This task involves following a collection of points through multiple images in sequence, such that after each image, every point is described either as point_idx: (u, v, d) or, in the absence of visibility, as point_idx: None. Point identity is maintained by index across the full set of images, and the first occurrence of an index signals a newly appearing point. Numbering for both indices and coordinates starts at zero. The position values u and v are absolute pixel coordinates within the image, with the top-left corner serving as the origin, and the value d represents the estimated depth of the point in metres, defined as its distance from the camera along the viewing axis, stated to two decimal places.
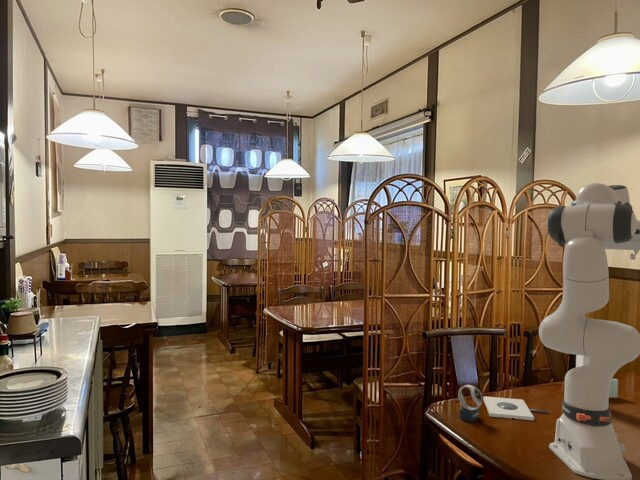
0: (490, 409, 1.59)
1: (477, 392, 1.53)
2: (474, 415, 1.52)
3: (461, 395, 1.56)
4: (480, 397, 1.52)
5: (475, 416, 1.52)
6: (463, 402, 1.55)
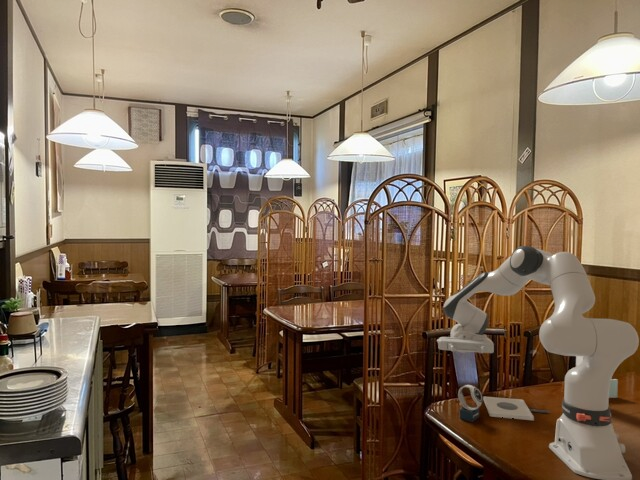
0: (490, 409, 1.59)
1: (477, 392, 1.53)
2: (474, 415, 1.52)
3: (461, 395, 1.56)
4: (480, 397, 1.52)
5: (475, 416, 1.52)
6: (463, 402, 1.55)
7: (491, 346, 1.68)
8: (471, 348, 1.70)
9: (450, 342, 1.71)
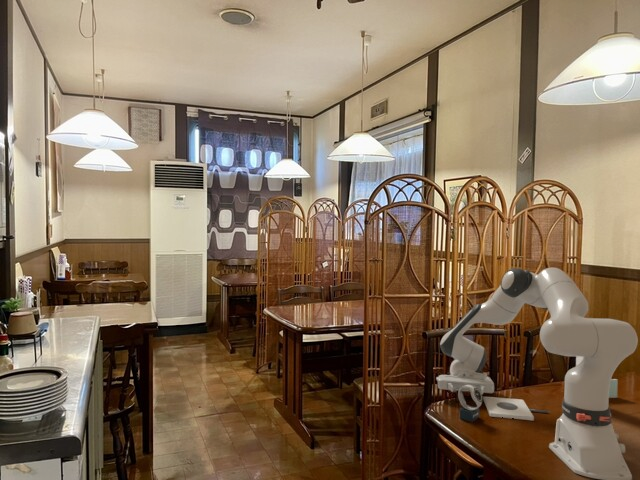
0: (490, 409, 1.59)
1: (477, 392, 1.53)
2: (474, 415, 1.52)
3: (461, 395, 1.56)
4: (480, 397, 1.52)
5: (475, 416, 1.52)
6: (463, 402, 1.55)
7: (491, 386, 1.66)
8: None
9: (450, 381, 1.69)
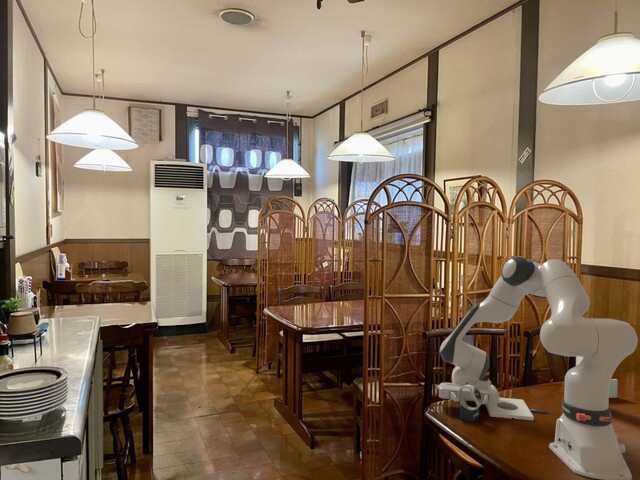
0: (490, 409, 1.59)
1: (477, 392, 1.53)
2: (474, 415, 1.52)
3: (461, 395, 1.56)
4: (480, 397, 1.52)
5: (475, 416, 1.52)
6: (463, 402, 1.55)
7: (496, 395, 1.56)
8: None
9: (452, 390, 1.59)
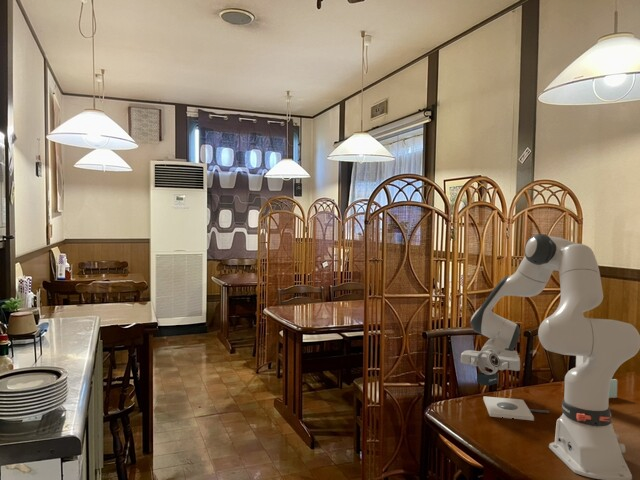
0: (490, 409, 1.59)
1: (494, 358, 1.56)
2: (490, 379, 1.56)
3: (480, 360, 1.61)
4: (497, 363, 1.56)
5: (492, 381, 1.57)
6: (481, 367, 1.60)
7: (516, 363, 1.58)
8: None
9: (472, 356, 1.65)
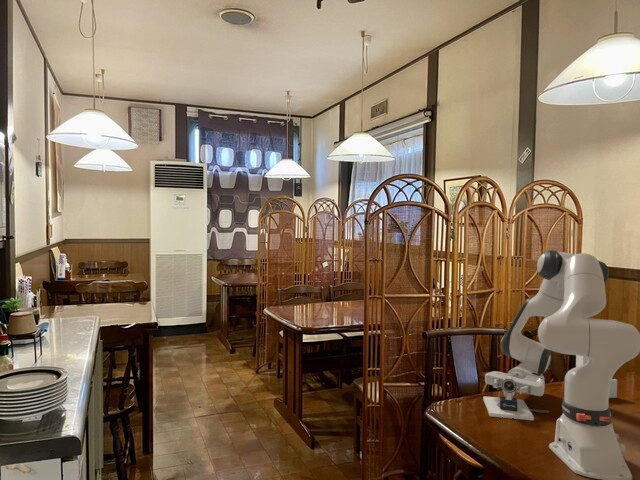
0: (490, 409, 1.59)
1: (510, 384, 1.57)
2: (505, 404, 1.58)
3: None
4: (511, 389, 1.56)
5: (508, 407, 1.58)
6: None
7: (538, 389, 1.58)
8: (518, 387, 1.64)
9: (495, 378, 1.68)
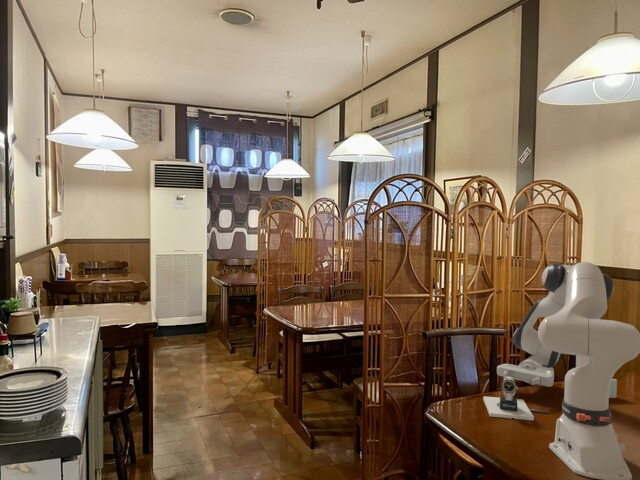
0: (490, 409, 1.59)
1: (510, 384, 1.57)
2: (505, 404, 1.58)
3: None
4: (511, 389, 1.56)
5: (508, 407, 1.58)
6: None
7: (548, 379, 1.67)
8: (528, 378, 1.72)
9: (507, 369, 1.77)
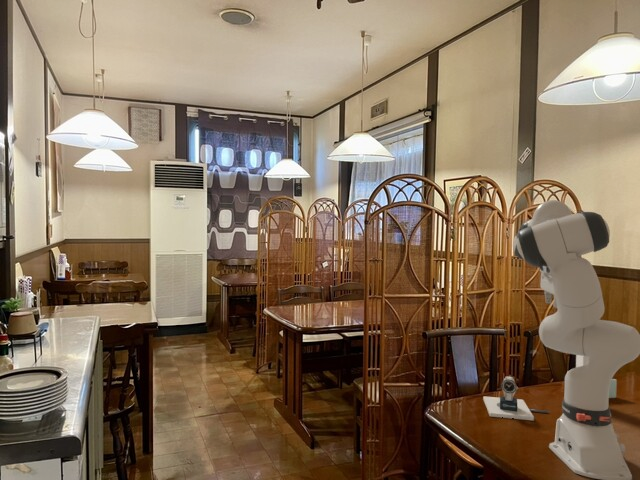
0: (490, 409, 1.59)
1: (510, 384, 1.57)
2: (505, 404, 1.58)
3: None
4: (511, 389, 1.56)
5: (508, 407, 1.58)
6: None
7: None
8: None
9: (544, 290, 1.70)
